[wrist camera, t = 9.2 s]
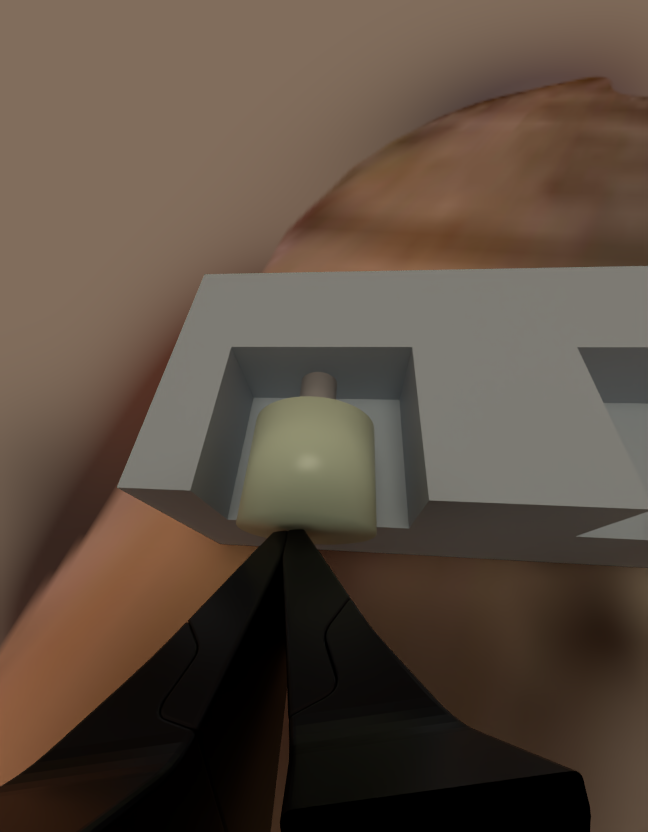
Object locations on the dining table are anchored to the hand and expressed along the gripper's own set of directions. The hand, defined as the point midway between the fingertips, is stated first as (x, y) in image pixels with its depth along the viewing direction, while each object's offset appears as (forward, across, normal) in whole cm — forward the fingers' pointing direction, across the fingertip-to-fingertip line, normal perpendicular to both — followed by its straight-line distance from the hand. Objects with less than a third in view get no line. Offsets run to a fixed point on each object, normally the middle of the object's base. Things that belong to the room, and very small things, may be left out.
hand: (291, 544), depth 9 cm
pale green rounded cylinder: (+3, -1, -1) cm, 3 cm away
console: (+7, -12, +2) cm, 14 cm away
